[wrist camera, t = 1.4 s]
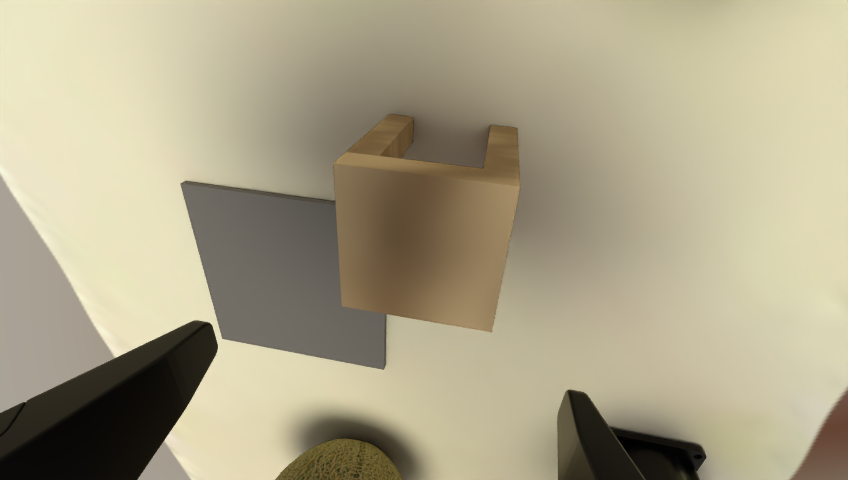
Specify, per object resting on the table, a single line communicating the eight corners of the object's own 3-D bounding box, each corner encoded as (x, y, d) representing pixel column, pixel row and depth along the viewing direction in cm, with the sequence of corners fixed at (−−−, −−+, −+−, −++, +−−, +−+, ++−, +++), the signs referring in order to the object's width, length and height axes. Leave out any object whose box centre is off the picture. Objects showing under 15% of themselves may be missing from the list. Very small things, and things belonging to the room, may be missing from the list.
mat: (387, 209, 22) (385, 212, 21) (385, 365, 28) (383, 369, 27) (185, 181, 23) (180, 183, 23) (225, 334, 29) (222, 338, 29)
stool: (517, 127, 18) (520, 186, 12) (497, 241, 21) (491, 332, 15) (388, 114, 19) (333, 163, 13) (387, 225, 22) (341, 306, 16)
